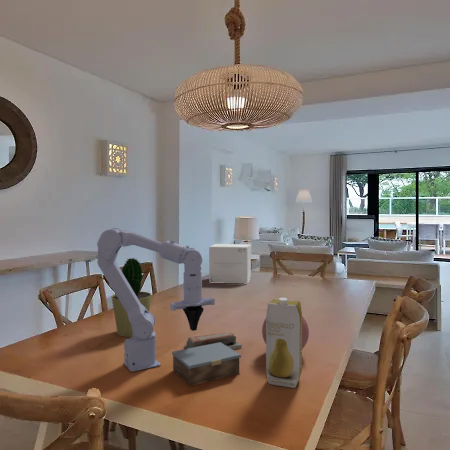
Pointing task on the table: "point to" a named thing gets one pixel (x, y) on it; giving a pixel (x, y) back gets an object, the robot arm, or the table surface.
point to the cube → (230, 263)
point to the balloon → (304, 332)
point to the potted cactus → (134, 279)
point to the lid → (205, 355)
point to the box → (205, 371)
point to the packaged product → (213, 340)
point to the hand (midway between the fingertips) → (193, 329)
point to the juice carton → (284, 342)
